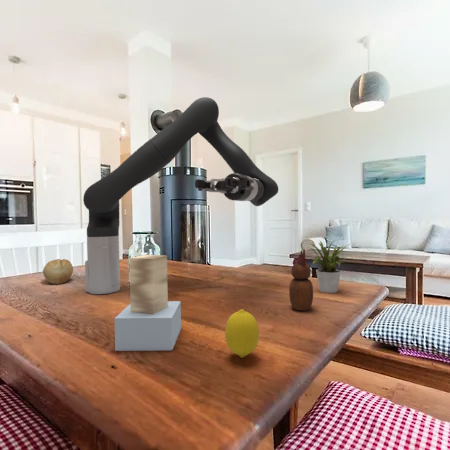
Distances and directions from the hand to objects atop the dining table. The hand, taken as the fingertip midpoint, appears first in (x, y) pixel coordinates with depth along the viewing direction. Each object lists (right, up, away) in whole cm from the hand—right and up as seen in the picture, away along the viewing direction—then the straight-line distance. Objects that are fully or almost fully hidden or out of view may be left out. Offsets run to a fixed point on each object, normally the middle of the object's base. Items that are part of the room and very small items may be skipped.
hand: (211, 182), depth 73 cm
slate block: (-11, -32, -15) cm, 37 cm away
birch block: (-11, -26, -15) cm, 32 cm away
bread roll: (-57, -31, +37) cm, 75 cm away
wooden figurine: (+22, -31, +2) cm, 38 cm away
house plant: (+34, -30, +19) cm, 49 cm away
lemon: (+6, -32, -23) cm, 40 cm away
